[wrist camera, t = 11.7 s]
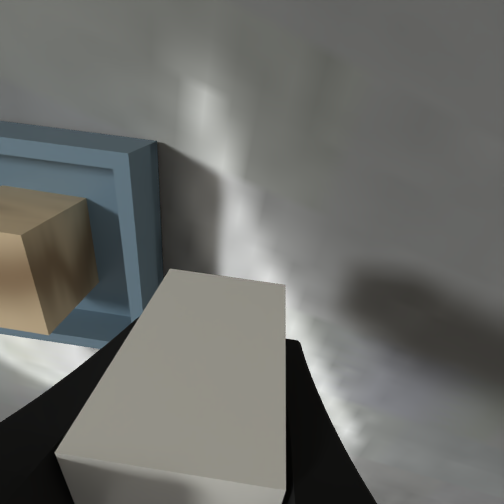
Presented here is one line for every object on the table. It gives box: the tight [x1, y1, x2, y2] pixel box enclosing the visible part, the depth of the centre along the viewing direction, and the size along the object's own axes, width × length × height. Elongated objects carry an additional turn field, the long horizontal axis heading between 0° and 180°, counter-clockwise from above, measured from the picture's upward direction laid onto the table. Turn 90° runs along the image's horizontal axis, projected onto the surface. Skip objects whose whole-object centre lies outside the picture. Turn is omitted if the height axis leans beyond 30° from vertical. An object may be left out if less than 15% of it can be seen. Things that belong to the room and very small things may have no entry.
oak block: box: [0, 185, 99, 335], centre depth 17 cm, size 6×5×5 cm
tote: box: [0, 121, 163, 349], centre depth 18 cm, size 13×13×4 cm
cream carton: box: [55, 269, 286, 504], centre depth 9 cm, size 4×4×6 cm
